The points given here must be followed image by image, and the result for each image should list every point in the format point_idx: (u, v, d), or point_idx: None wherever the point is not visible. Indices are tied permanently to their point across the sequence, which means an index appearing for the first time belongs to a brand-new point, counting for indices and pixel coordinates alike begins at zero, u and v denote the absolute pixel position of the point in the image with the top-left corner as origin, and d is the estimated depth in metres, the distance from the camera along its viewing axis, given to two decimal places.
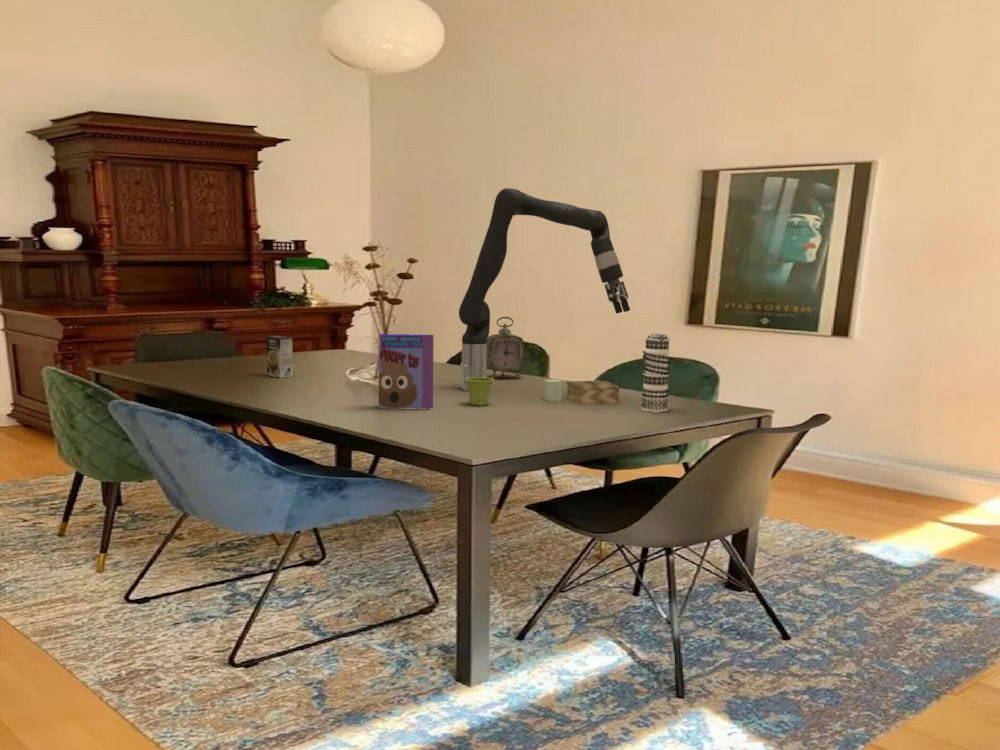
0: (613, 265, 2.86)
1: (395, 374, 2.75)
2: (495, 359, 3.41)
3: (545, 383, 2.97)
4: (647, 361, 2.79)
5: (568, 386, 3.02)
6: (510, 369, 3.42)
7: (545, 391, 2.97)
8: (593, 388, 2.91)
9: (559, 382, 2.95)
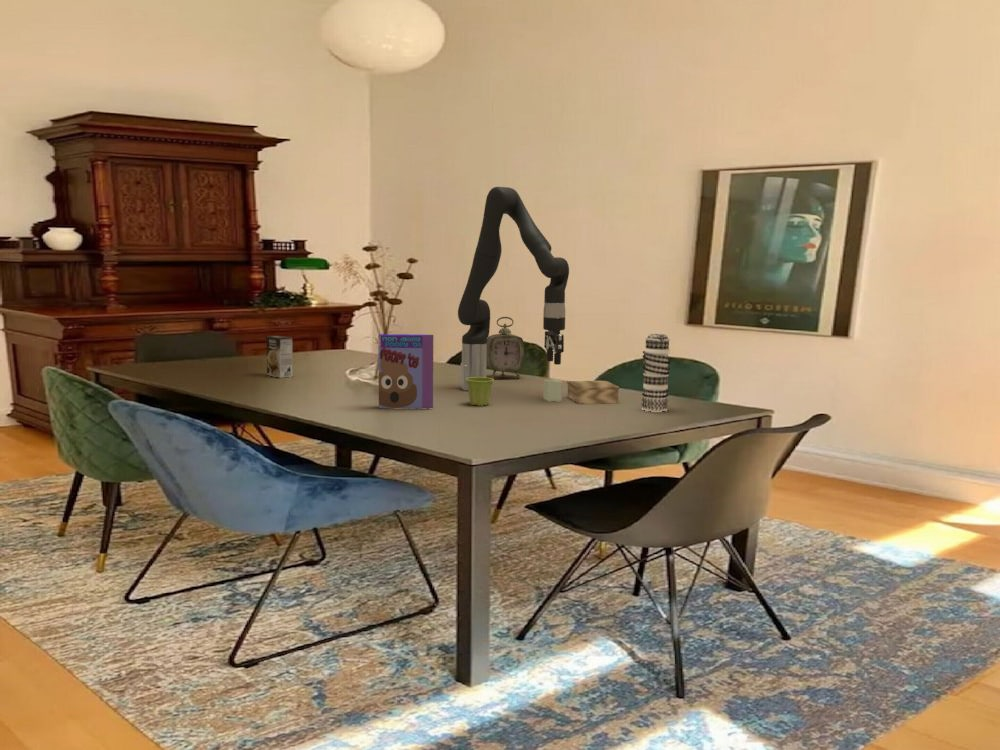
0: (563, 317, 2.92)
1: (395, 374, 2.75)
2: (495, 359, 3.41)
3: (545, 383, 2.97)
4: (647, 361, 2.79)
5: (568, 386, 3.03)
6: (510, 369, 3.42)
7: (545, 391, 2.97)
8: (592, 388, 2.91)
9: (559, 382, 2.95)
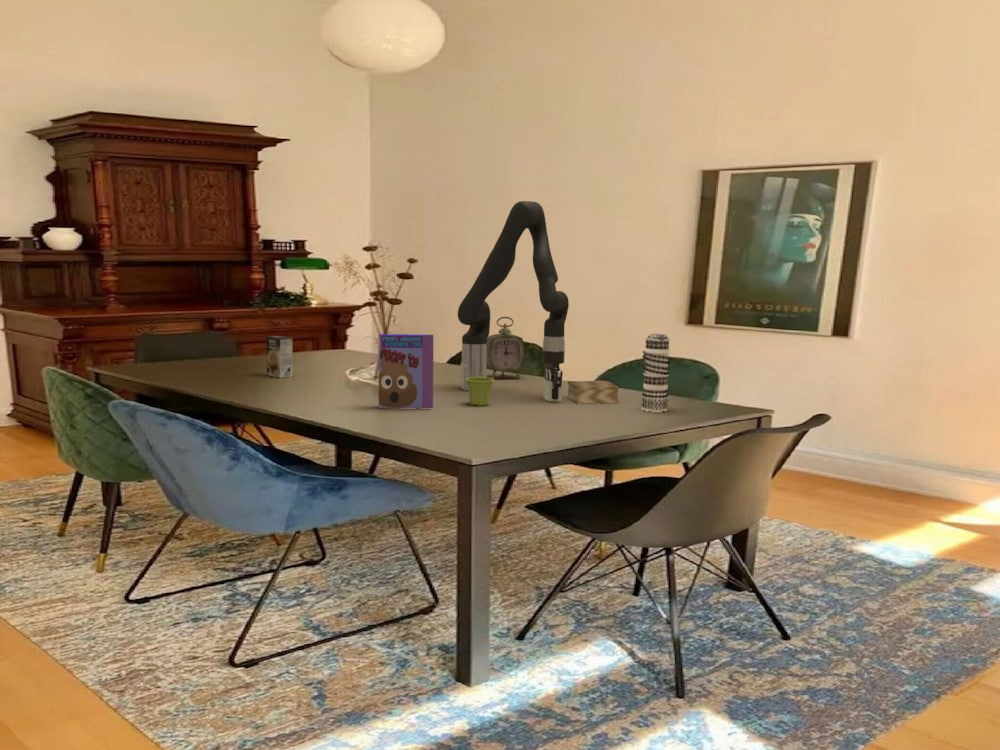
0: (563, 351, 2.93)
1: (395, 374, 2.75)
2: (495, 359, 3.42)
3: (545, 383, 2.97)
4: (647, 361, 2.79)
5: (569, 386, 3.03)
6: (510, 369, 3.42)
7: (545, 391, 2.97)
8: (591, 388, 2.91)
9: None
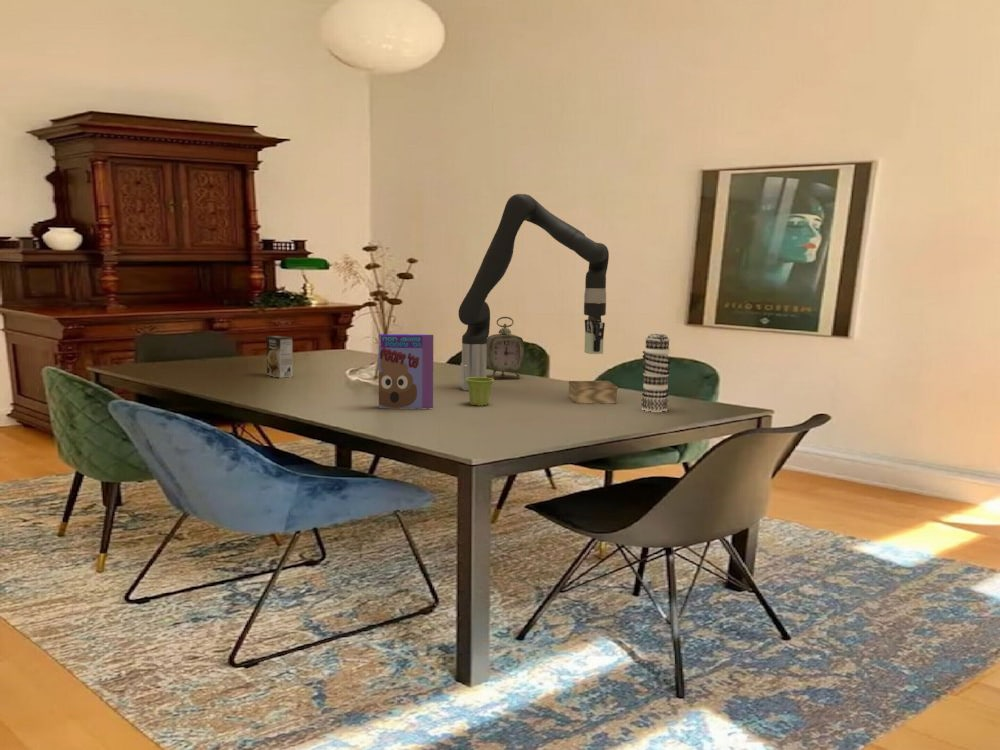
0: (604, 303, 2.92)
1: (395, 374, 2.75)
2: (495, 359, 3.41)
3: (586, 336, 2.96)
4: (647, 361, 2.79)
5: (569, 386, 3.03)
6: (510, 369, 3.42)
7: (586, 344, 2.96)
8: (590, 388, 2.91)
9: None
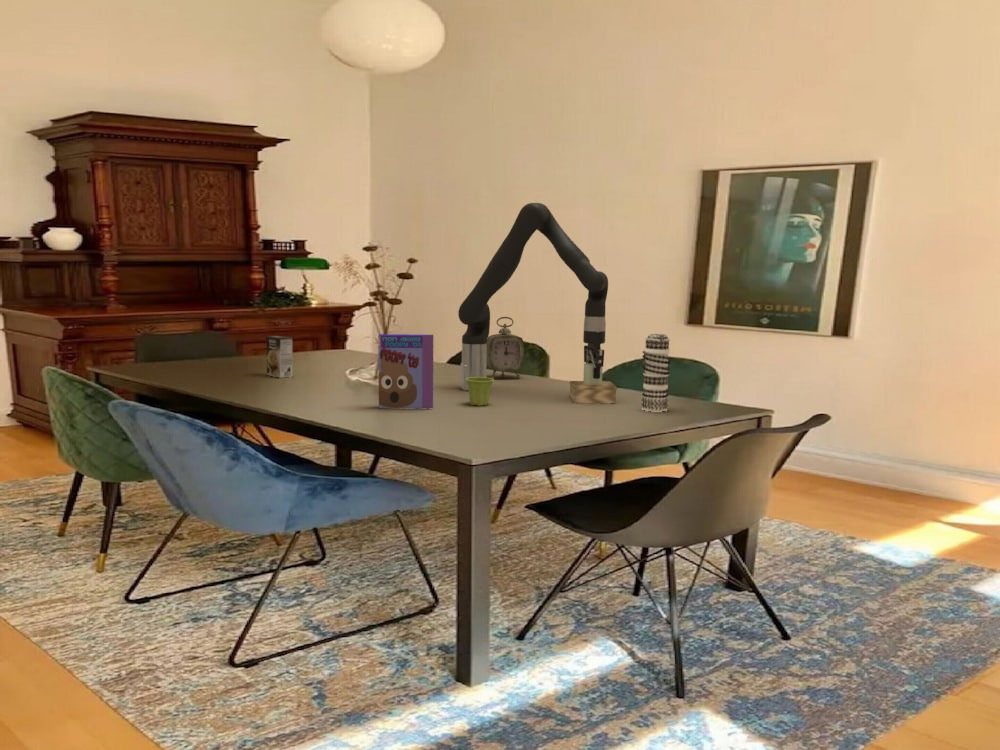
0: (604, 331, 2.94)
1: (395, 374, 2.75)
2: (495, 359, 3.41)
3: (585, 367, 2.98)
4: (647, 361, 2.79)
5: (570, 385, 3.04)
6: (510, 369, 3.42)
7: (585, 375, 2.98)
8: (588, 388, 2.91)
9: None
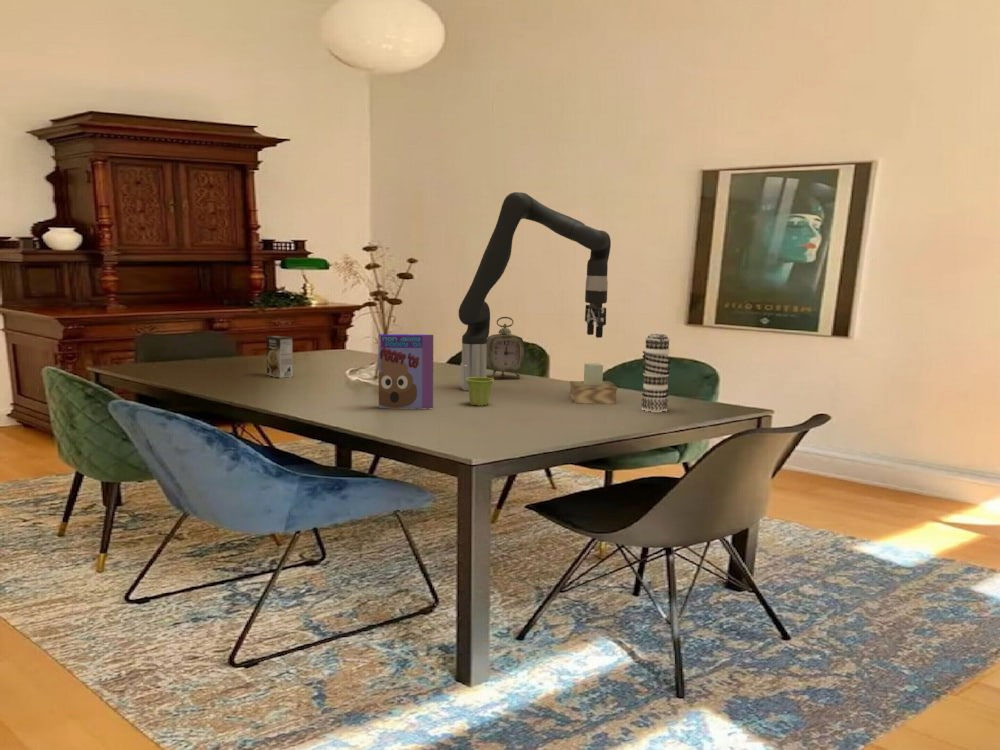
0: (606, 291, 2.92)
1: (395, 374, 2.75)
2: (495, 359, 3.41)
3: (586, 367, 2.98)
4: (647, 361, 2.79)
5: (571, 386, 3.04)
6: (510, 369, 3.42)
7: (586, 375, 2.98)
8: (589, 388, 2.91)
9: (600, 366, 2.96)
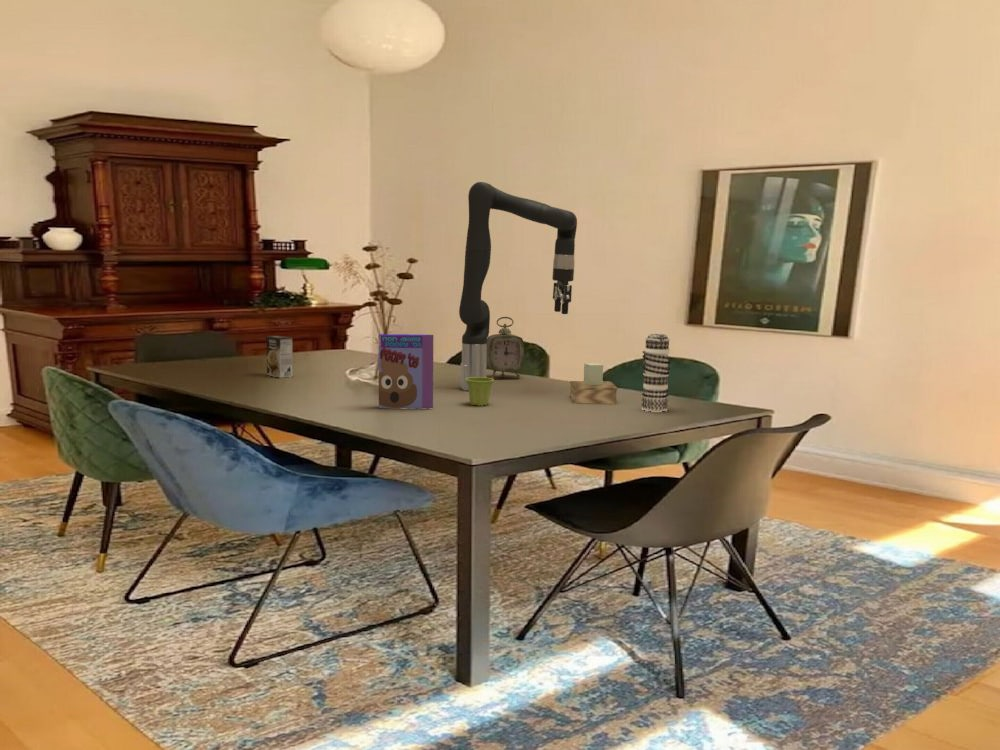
0: (572, 269, 3.03)
1: (395, 374, 2.75)
2: (495, 359, 3.41)
3: (586, 367, 2.98)
4: (647, 361, 2.79)
5: (571, 386, 3.04)
6: (510, 369, 3.42)
7: (586, 375, 2.98)
8: (589, 388, 2.91)
9: (600, 366, 2.96)
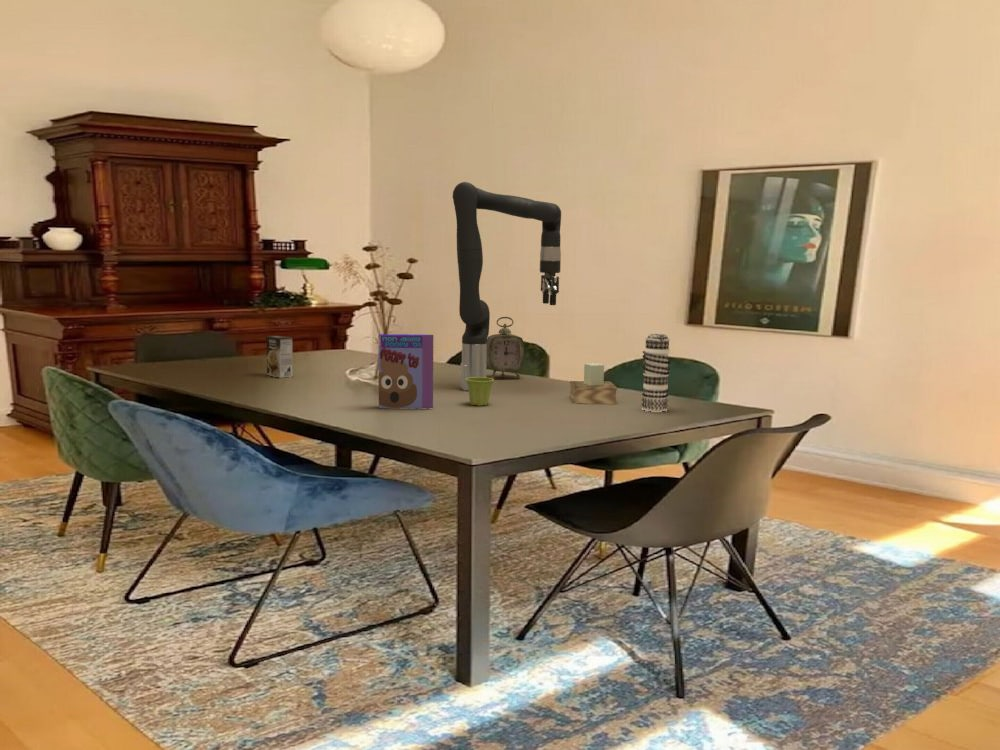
0: (559, 261, 3.08)
1: (395, 374, 2.75)
2: (495, 359, 3.41)
3: (587, 367, 2.97)
4: (647, 361, 2.79)
5: (571, 386, 3.04)
6: (510, 369, 3.42)
7: (587, 375, 2.97)
8: (588, 388, 2.91)
9: (601, 366, 2.96)
